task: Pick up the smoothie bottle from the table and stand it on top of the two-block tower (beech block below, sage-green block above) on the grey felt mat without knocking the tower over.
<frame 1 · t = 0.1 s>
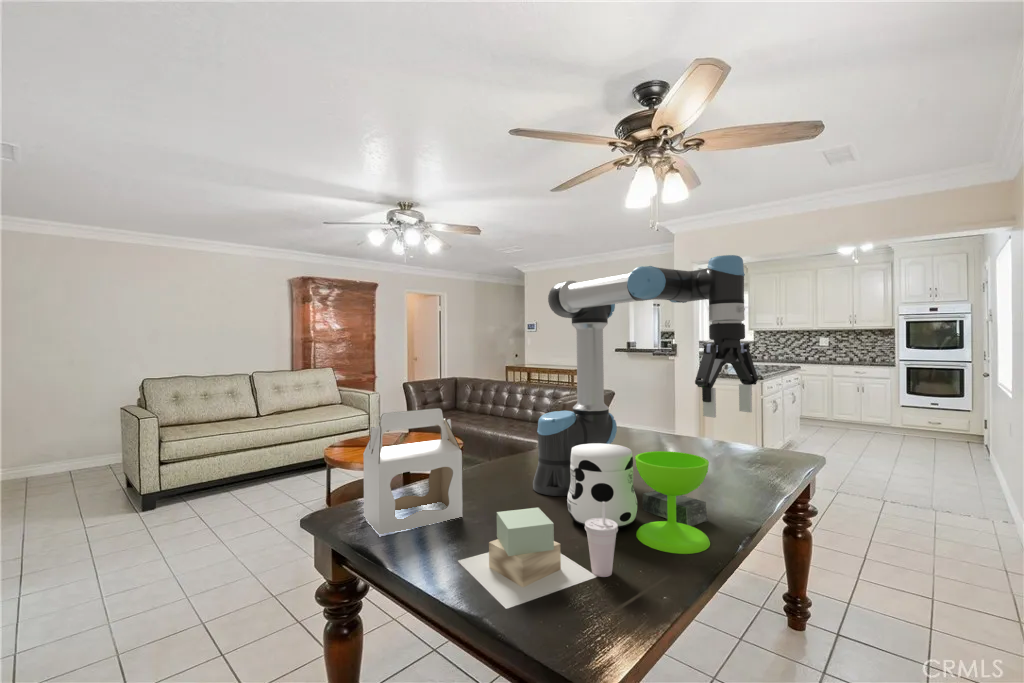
hand: (728, 414, 105), 28 cm above the table, tool pointing down, fingers open, 13 cm apart
sage block: (524, 542, 89), point 5 cm above the table, touching beech block
smoothie: (601, 574, 88), on the table
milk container: (601, 522, 114), on the table
felt mat: (524, 570, 89), on the table
stone block: (675, 516, 118), on the table
gable box: (413, 519, 117), on the table
beech block: (524, 568, 89), resting on felt mat, touching sage block
wineglass: (672, 538, 104), on the table
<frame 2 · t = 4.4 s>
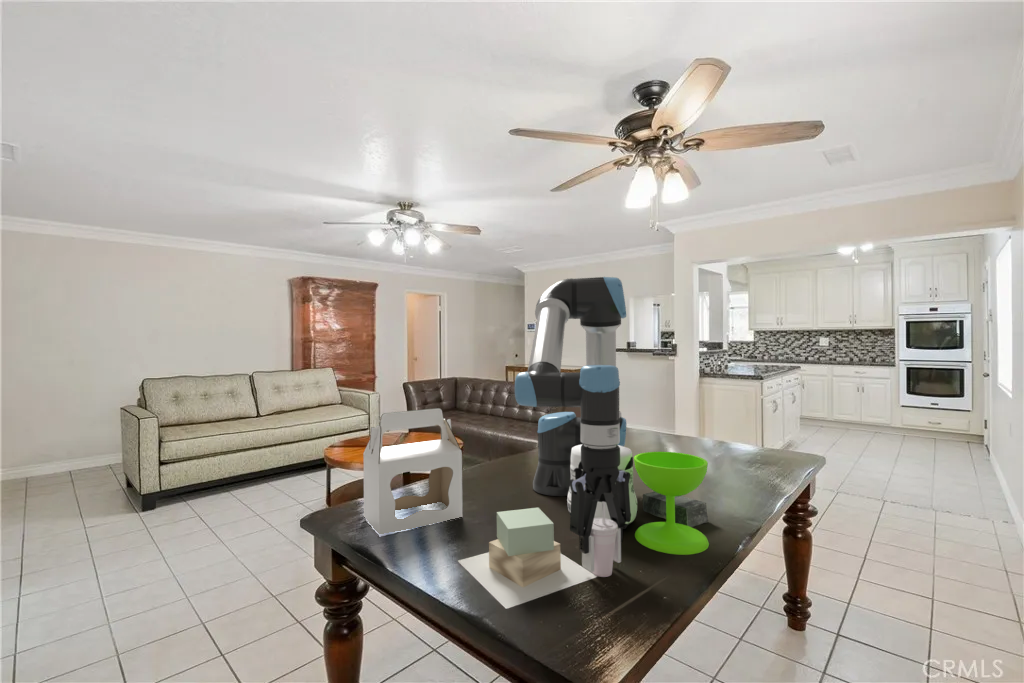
hand: (601, 563, 88), 2 cm above the table, tool pointing down, fingers closed on smoothie, 6 cm apart
smoothie: (601, 574, 88), on the table, touching gripper
everything else where it was.
when the fingers open (13 cm above the table, at t = 9.0 s): smoothie moves 2 cm, resting on sage block.
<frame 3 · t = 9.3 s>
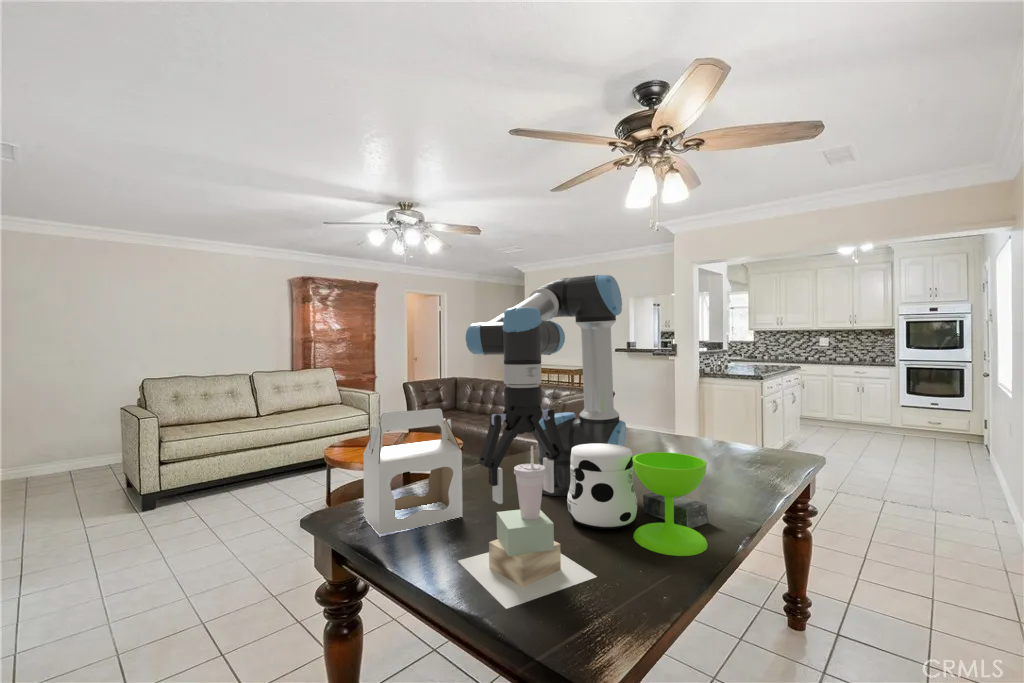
hand: (523, 496, 89), 15 cm above the table, tool pointing down, fingers open, 11 cm apart
sage block: (524, 542, 89), point 5 cm above the table, touching beech block, smoothie
smoothie: (530, 517, 90), point 10 cm above the table, touching sage block
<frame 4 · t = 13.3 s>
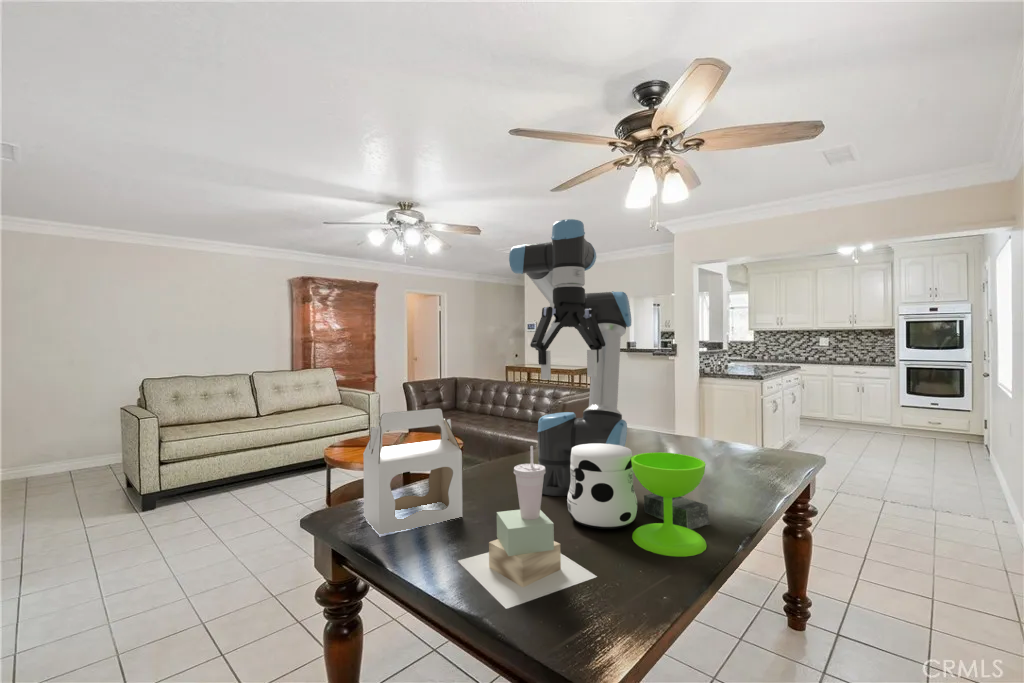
hand: (569, 378, 106), 37 cm above the table, tool pointing down, fingers open, 13 cm apart
at the end: smoothie 1.4 cm from the sage block (horizontally); smoothie point 10.2 cm above the table; smoothie tilted 0° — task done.
